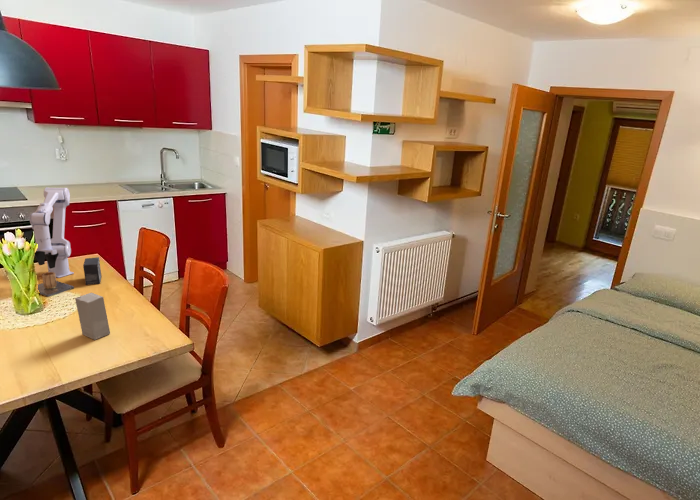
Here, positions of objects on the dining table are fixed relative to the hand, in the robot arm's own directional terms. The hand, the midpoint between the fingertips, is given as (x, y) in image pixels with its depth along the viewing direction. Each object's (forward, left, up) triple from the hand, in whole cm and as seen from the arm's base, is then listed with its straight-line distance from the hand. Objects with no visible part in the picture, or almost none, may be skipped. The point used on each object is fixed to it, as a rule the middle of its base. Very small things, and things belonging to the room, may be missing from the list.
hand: (47, 266), depth 206 cm
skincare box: (+59, -20, -10) cm, 63 cm away
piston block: (+4, -2, -10) cm, 11 cm away
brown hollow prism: (+4, -2, -8) cm, 9 cm away
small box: (+10, +15, -10) cm, 21 cm away
